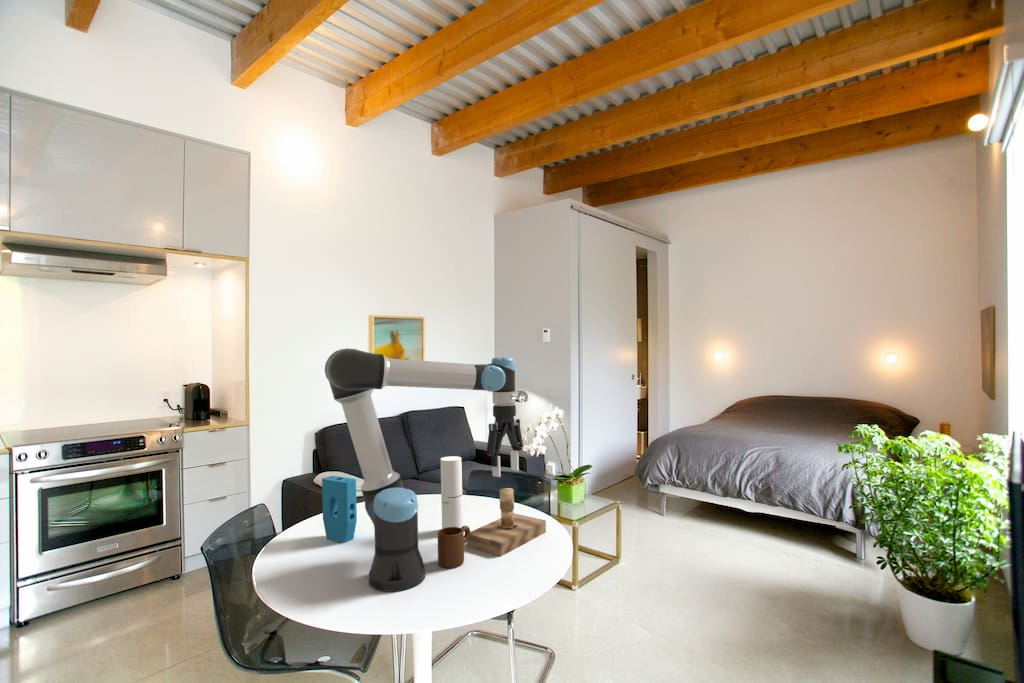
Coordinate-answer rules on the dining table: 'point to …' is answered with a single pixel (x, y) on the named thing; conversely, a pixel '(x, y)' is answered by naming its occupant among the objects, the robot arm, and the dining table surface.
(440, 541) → the mug
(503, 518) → the oak peg
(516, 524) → the seat board
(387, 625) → the dining table surface
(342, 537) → the block
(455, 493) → the cylindrical container
